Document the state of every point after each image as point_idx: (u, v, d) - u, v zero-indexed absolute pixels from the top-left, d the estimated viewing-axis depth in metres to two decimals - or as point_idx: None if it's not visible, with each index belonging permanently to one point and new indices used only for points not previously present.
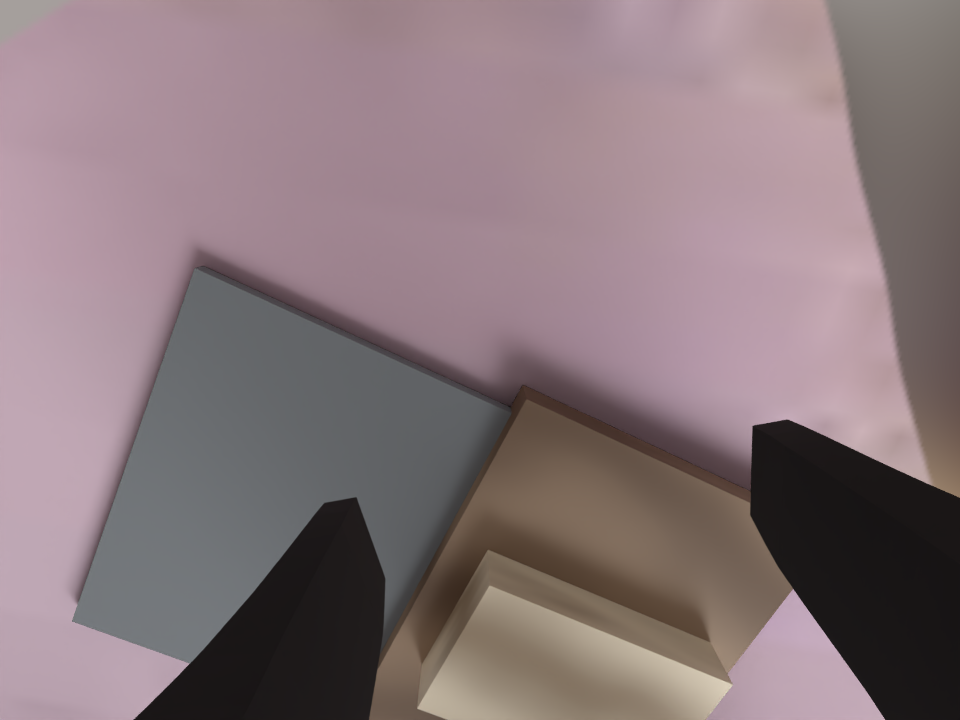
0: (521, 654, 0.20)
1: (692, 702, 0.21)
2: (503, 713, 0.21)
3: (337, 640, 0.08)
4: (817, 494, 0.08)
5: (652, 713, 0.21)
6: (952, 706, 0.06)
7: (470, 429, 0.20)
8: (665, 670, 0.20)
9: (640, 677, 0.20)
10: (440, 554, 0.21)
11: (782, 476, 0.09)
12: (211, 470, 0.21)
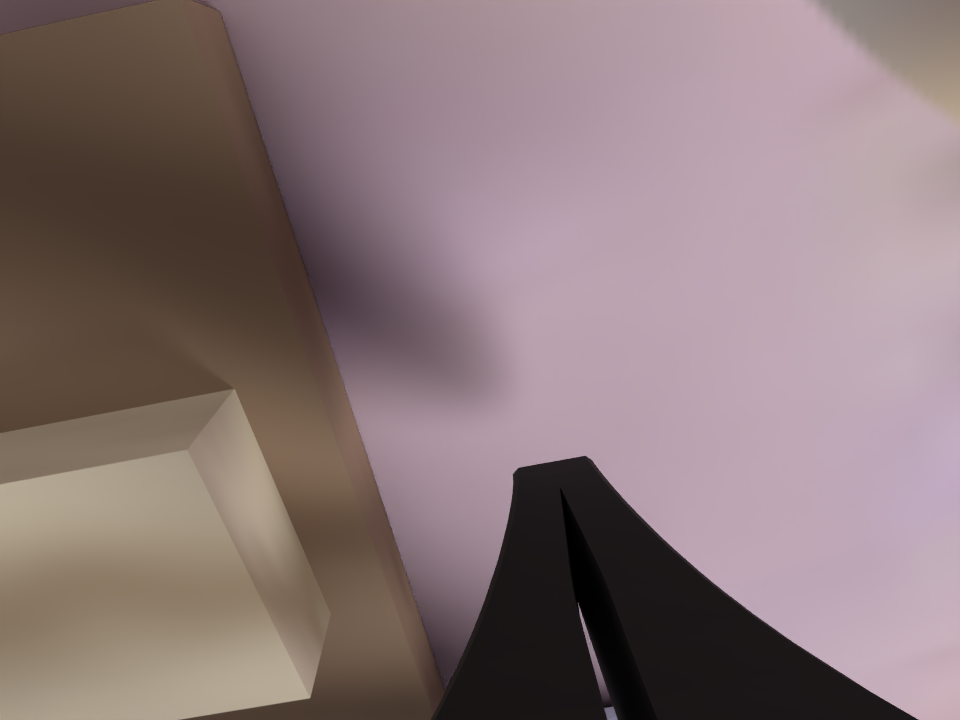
0: None
1: (166, 527, 0.09)
2: None
3: None
4: (576, 536, 0.08)
5: (134, 585, 0.10)
6: None
7: None
8: (44, 506, 0.09)
9: (27, 544, 0.09)
10: None
11: (564, 514, 0.09)
12: None
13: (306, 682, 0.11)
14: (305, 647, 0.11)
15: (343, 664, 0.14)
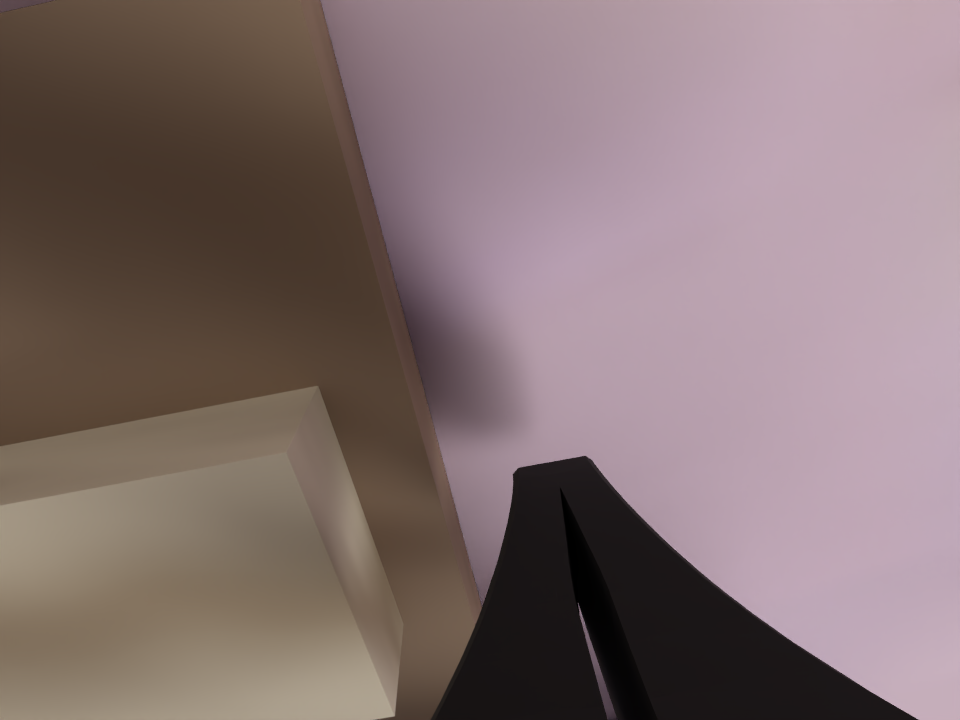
0: None
1: (256, 536, 0.08)
2: None
3: (575, 599, 0.08)
4: (576, 536, 0.08)
5: (217, 599, 0.09)
6: None
7: None
8: (126, 513, 0.08)
9: (105, 555, 0.08)
10: None
11: (564, 514, 0.09)
12: None
13: (390, 699, 0.10)
14: (387, 661, 0.10)
15: (413, 676, 0.13)
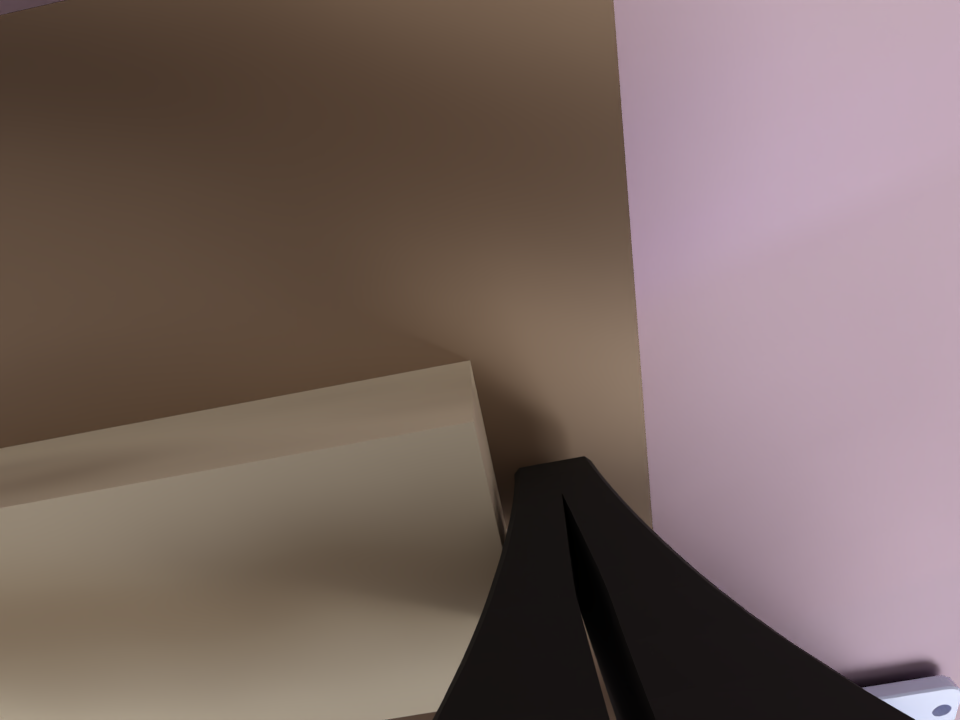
0: (30, 619, 0.09)
1: (429, 508, 0.08)
2: (143, 716, 0.10)
3: (577, 599, 0.08)
4: (575, 536, 0.08)
5: (380, 572, 0.09)
6: None
7: None
8: (304, 484, 0.08)
9: (276, 527, 0.08)
10: None
11: None
12: None
13: None
14: None
15: None
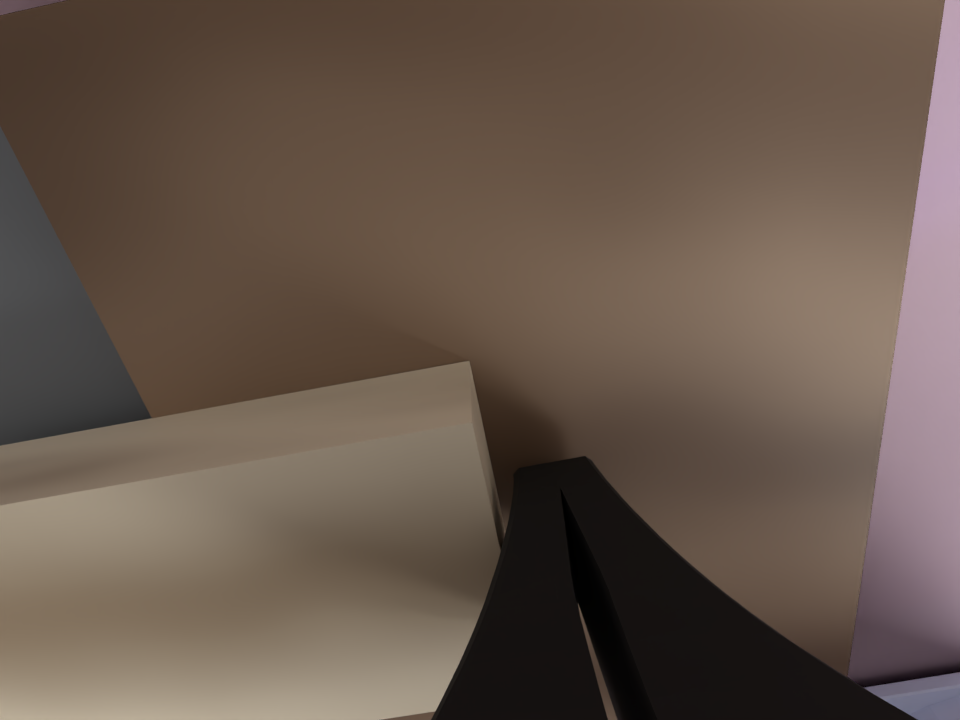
0: (28, 616, 0.09)
1: (428, 508, 0.08)
2: (141, 714, 0.10)
3: (576, 600, 0.08)
4: (576, 536, 0.08)
5: (378, 573, 0.09)
6: None
7: (13, 205, 0.09)
8: (302, 484, 0.08)
9: (274, 526, 0.08)
10: None
11: (564, 514, 0.09)
12: None
13: None
14: None
15: (781, 615, 0.12)
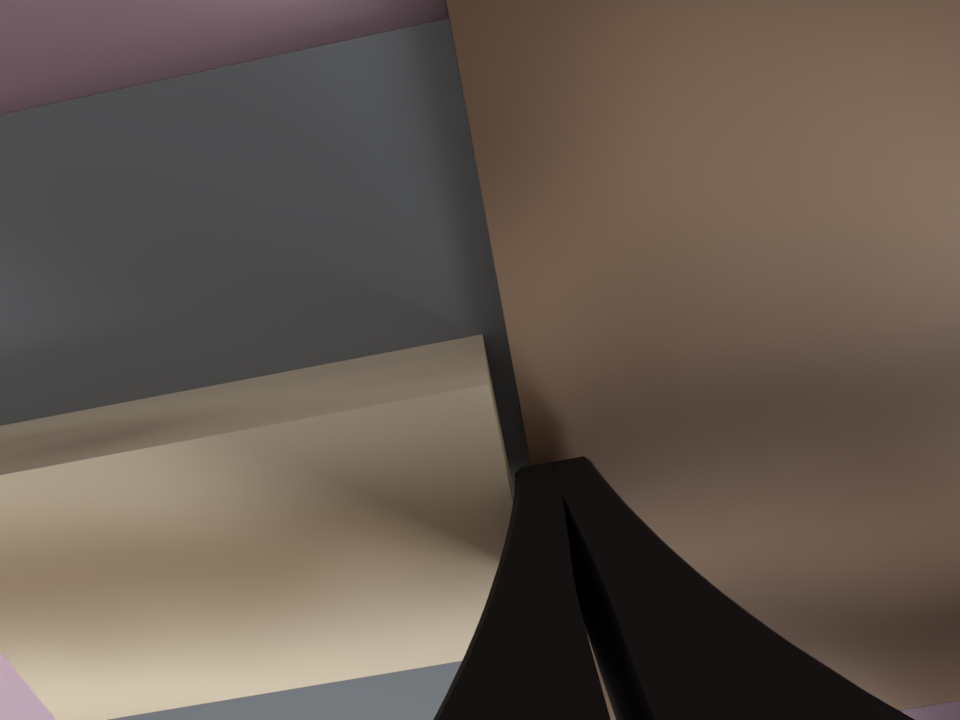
0: (78, 570, 0.10)
1: (447, 466, 0.09)
2: (178, 666, 0.11)
3: None
4: (574, 536, 0.08)
5: (401, 527, 0.10)
6: None
7: (398, 123, 0.09)
8: (333, 443, 0.09)
9: (307, 483, 0.09)
10: (519, 398, 0.10)
11: None
12: None
13: None
14: None
15: None
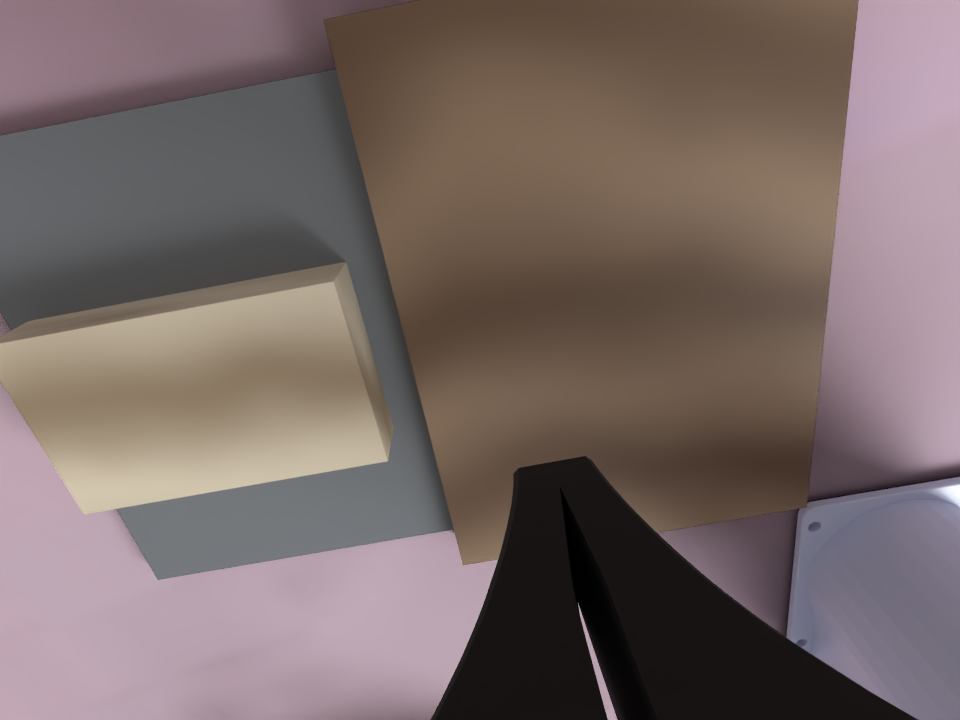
0: (97, 398, 0.16)
1: (315, 332, 0.16)
2: (158, 469, 0.17)
3: None
4: (576, 536, 0.08)
5: (290, 373, 0.16)
6: None
7: (315, 125, 0.15)
8: (247, 316, 0.15)
9: (233, 342, 0.16)
10: (394, 293, 0.16)
11: (564, 514, 0.09)
12: None
13: (385, 451, 0.17)
14: (384, 431, 0.18)
15: (766, 418, 0.19)
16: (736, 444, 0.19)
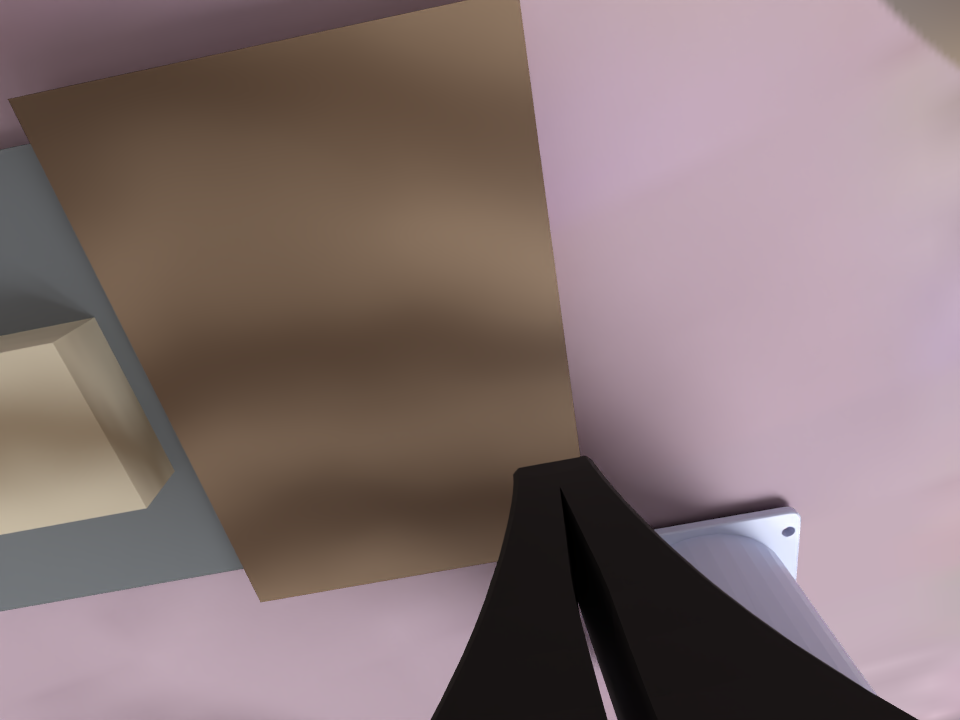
0: None
1: (46, 389, 0.16)
2: None
3: (576, 599, 0.08)
4: (576, 536, 0.08)
5: (31, 427, 0.17)
6: None
7: (37, 192, 0.16)
8: None
9: None
10: (136, 348, 0.17)
11: (564, 514, 0.09)
12: None
13: (143, 498, 0.18)
14: (145, 478, 0.18)
15: (531, 461, 0.19)
16: (507, 486, 0.20)
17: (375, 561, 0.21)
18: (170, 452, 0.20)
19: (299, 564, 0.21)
